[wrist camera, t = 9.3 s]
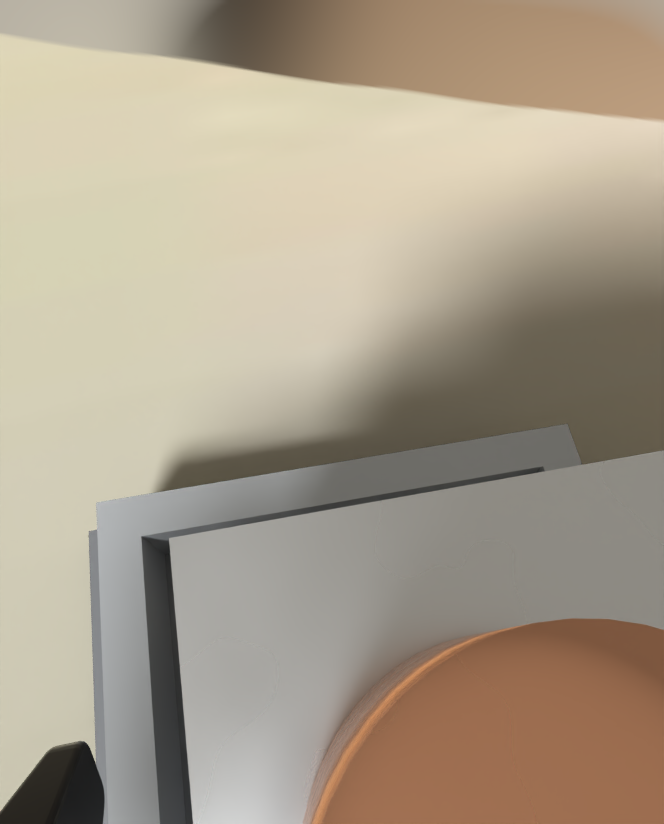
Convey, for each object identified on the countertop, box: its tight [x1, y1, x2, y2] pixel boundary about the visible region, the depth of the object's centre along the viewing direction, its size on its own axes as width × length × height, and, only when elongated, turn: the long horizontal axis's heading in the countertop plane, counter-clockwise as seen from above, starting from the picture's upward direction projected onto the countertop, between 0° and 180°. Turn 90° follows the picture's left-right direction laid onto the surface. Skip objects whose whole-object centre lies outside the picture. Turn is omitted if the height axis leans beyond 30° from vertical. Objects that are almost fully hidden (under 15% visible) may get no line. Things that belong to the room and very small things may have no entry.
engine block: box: [169, 450, 664, 824], centre depth 9 cm, size 7×6×12 cm
